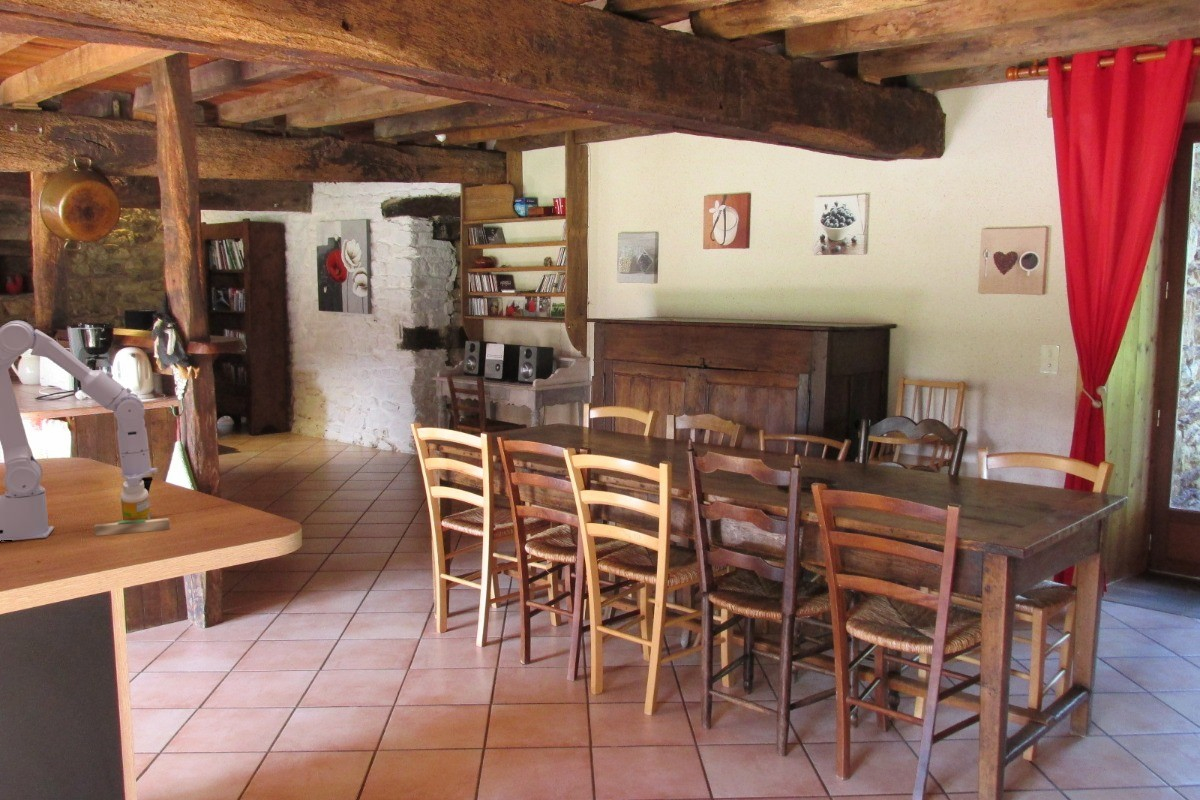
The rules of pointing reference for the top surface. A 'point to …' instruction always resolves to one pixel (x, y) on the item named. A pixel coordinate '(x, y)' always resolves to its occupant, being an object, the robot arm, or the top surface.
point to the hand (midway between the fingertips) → (141, 512)
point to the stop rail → (131, 526)
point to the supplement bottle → (135, 502)
